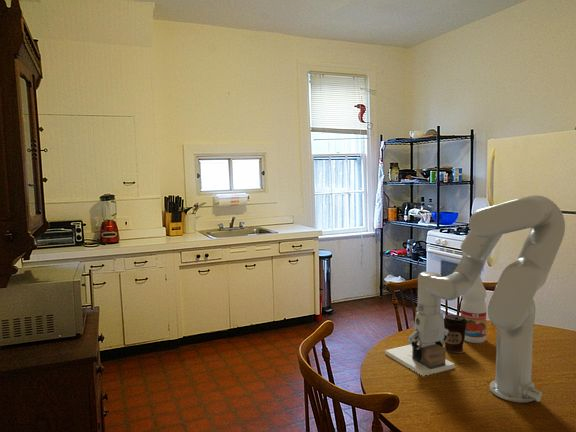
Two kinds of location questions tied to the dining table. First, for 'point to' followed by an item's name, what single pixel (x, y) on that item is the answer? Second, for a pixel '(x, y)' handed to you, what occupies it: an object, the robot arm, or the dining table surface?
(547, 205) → the robot arm
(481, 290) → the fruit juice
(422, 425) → the dining table surface
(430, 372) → the board
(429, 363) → the block
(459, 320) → the coffee cup
